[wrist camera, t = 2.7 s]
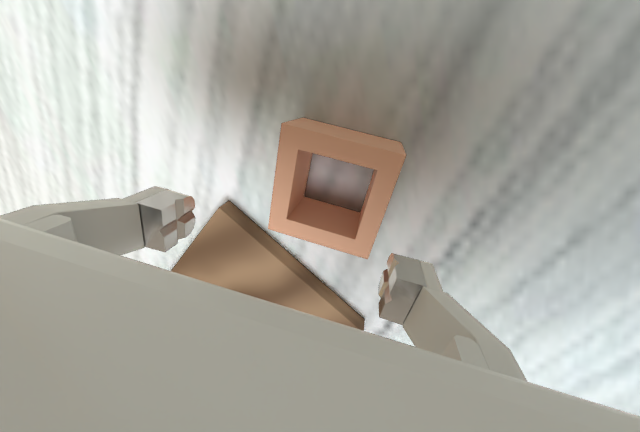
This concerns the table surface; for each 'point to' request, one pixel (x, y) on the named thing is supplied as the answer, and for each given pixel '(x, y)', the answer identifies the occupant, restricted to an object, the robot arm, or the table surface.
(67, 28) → the table surface
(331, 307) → the post base
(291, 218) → the frame
